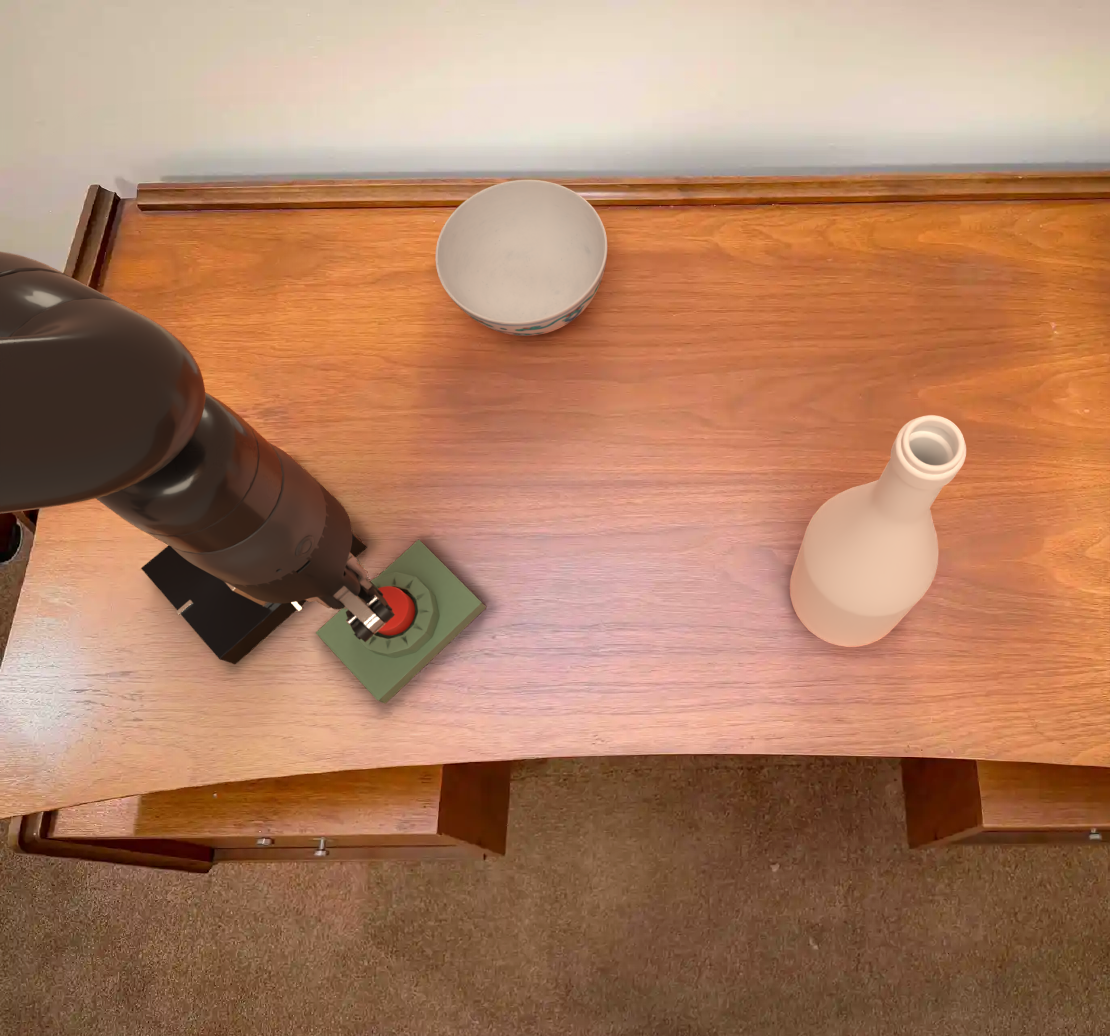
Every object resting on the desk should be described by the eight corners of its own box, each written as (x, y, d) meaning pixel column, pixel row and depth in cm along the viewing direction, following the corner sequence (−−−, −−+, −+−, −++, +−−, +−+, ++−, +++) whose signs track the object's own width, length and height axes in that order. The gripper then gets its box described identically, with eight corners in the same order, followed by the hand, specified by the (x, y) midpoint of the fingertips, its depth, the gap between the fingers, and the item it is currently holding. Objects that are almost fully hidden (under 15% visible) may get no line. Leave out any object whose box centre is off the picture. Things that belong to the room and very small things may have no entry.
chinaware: (427, 321, 82) (400, 272, 75) (520, 211, 86) (503, 154, 79) (556, 396, 79) (541, 352, 72) (646, 277, 83) (640, 225, 76)
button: (390, 645, 69) (382, 640, 67) (361, 614, 69) (352, 609, 68) (424, 612, 69) (417, 607, 68) (395, 582, 70) (388, 576, 69)
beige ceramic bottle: (792, 651, 71) (848, 532, 43) (785, 540, 74) (834, 362, 46) (908, 648, 71) (1042, 527, 43) (896, 538, 74) (1014, 357, 46)
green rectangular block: (385, 704, 70) (369, 698, 67) (323, 637, 72) (305, 627, 69) (486, 607, 73) (476, 597, 69) (424, 545, 75) (411, 532, 71)
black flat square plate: (245, 679, 71) (229, 673, 68) (146, 565, 74) (127, 555, 72) (380, 558, 74) (368, 548, 72) (279, 454, 78) (265, 441, 75)
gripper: (133, 489, 49) (273, 576, 66) (274, 647, 46) (385, 697, 62) (240, 403, 51) (351, 508, 67) (384, 549, 48) (463, 623, 64)
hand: (367, 599), depth 65 cm, fingers closed
